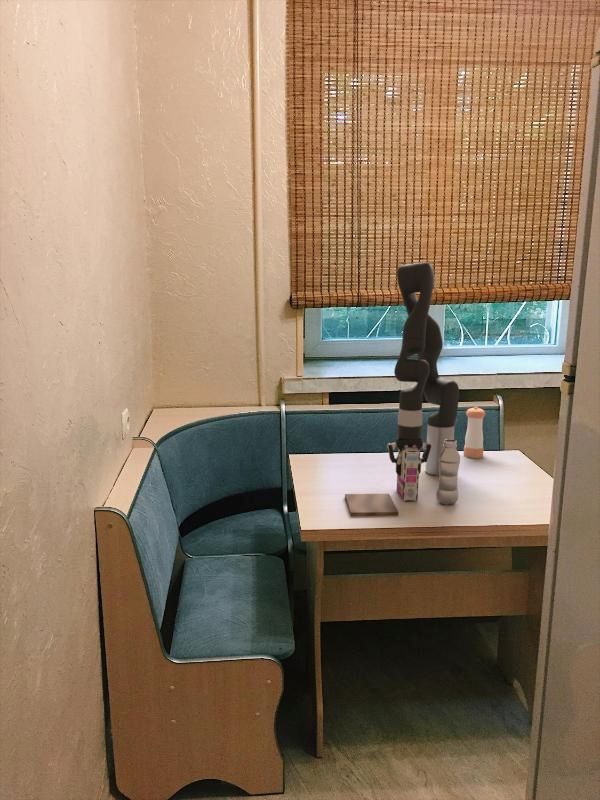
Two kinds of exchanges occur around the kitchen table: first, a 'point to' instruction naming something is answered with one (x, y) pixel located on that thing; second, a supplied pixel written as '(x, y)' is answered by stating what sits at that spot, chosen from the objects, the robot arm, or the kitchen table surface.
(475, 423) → the pepper shaker
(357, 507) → the walnut board
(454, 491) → the plastic bottle
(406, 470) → the candy bar box
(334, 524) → the kitchen table surface
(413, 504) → the kitchen table surface
